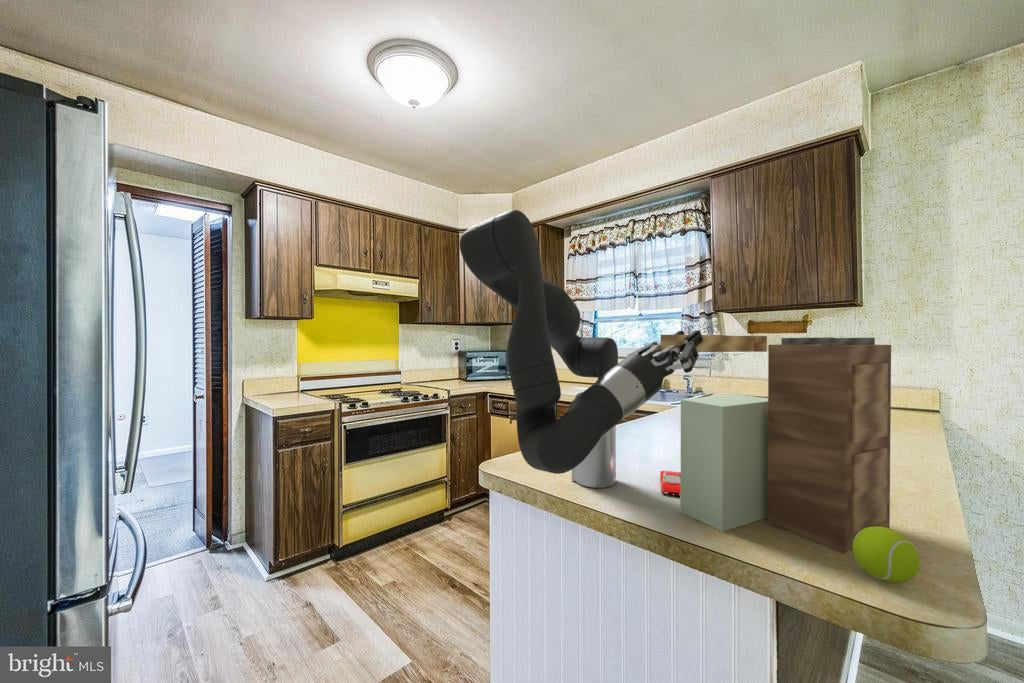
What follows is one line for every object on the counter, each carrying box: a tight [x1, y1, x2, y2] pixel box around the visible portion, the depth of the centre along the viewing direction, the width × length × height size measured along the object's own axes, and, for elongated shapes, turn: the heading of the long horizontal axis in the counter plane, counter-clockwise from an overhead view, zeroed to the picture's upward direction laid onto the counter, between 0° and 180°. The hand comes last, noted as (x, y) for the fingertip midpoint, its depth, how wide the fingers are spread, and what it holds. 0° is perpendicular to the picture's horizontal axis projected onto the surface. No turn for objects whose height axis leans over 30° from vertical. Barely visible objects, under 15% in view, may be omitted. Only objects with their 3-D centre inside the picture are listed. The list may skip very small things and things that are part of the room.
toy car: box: [659, 470, 681, 498], centre depth 95 cm, size 12×5×3 cm, turn 161°
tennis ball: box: [852, 526, 921, 584], centre depth 59 cm, size 7×7×7 cm
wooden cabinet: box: [767, 336, 892, 554], centre depth 74 cm, size 14×12×33 cm
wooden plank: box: [660, 334, 768, 353], centre depth 79 cm, size 24×4×3 cm, turn 116°
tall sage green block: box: [680, 393, 768, 532], centre depth 81 cm, size 16×9×22 cm, turn 116°
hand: (691, 335), depth 76 cm, fingers closed on wooden plank, 3 cm apart
